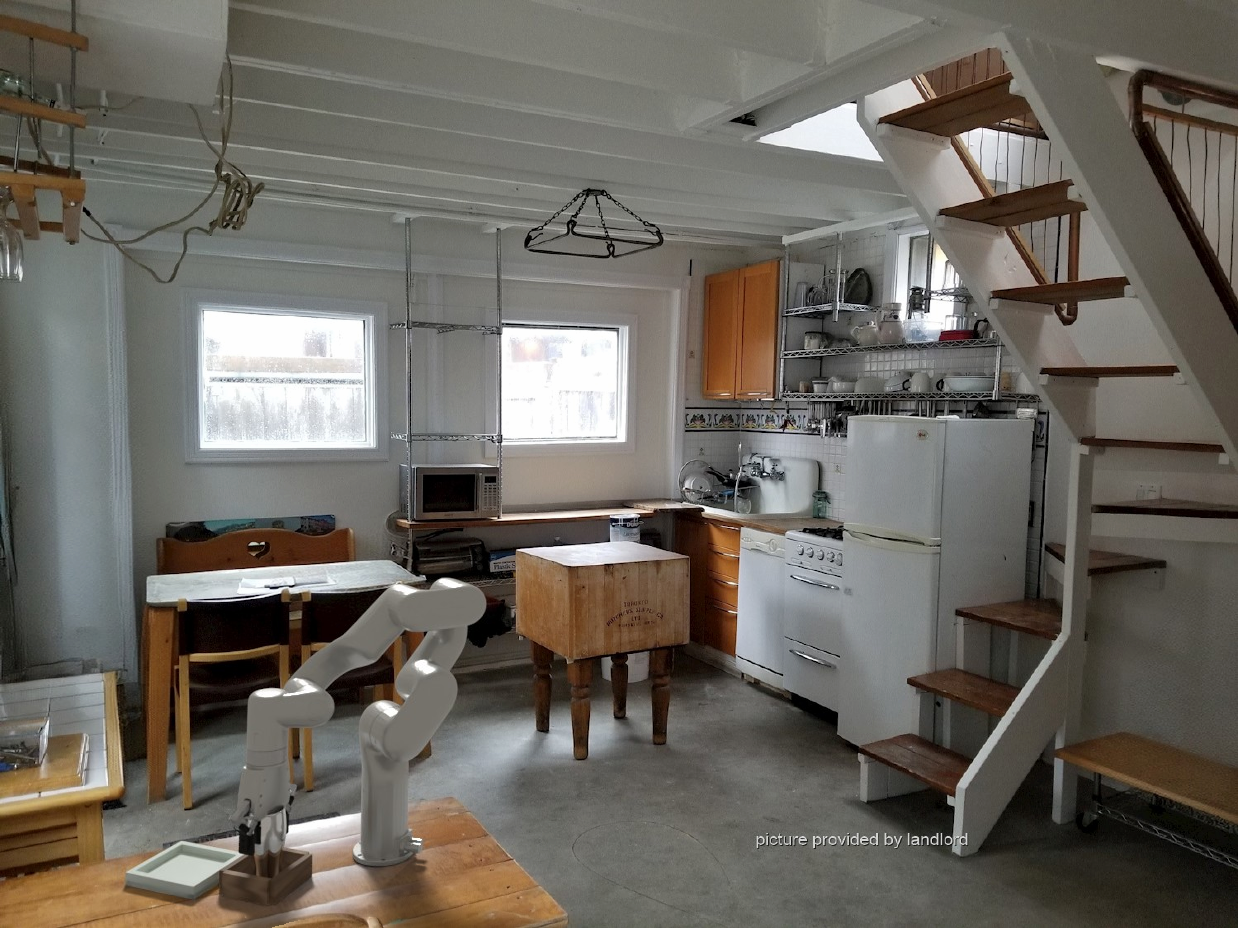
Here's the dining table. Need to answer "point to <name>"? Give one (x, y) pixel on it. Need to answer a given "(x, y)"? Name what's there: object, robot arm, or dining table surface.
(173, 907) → the dining table surface
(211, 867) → the sage tray
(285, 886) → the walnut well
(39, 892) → the dining table surface
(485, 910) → the dining table surface
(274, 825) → the beer glass
